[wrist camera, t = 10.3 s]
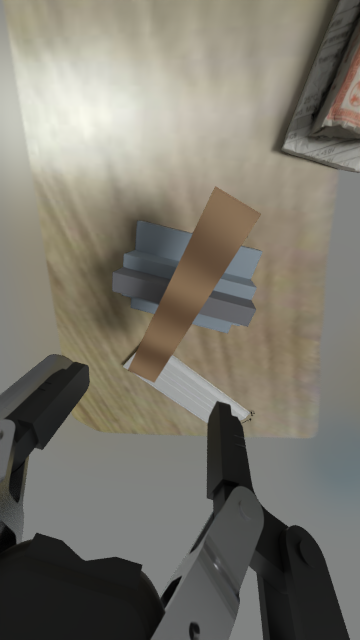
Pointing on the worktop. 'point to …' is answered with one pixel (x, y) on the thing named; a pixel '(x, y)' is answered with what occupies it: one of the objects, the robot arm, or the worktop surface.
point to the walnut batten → (194, 279)
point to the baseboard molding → (191, 390)
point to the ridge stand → (160, 264)
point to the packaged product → (331, 97)
